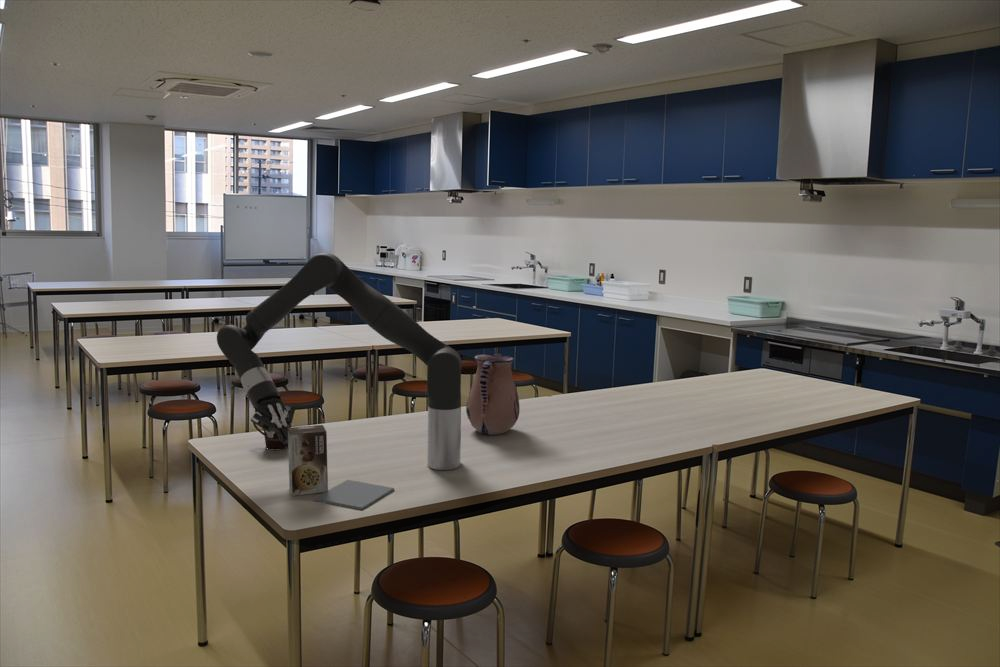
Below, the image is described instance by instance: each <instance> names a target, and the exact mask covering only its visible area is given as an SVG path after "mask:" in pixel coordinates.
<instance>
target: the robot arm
mask: <svg viewBox="0 0 1000 667" xmlns="http://www.w3.org/2000/svg"><path fill="white" fill-rule="evenodd" d="M324 288H327V289H329V290H330V291H332V292H333V293H335V295H337V296H339V297H340V298H342V300H344V301H345V302H346V303H347V304H348V305H349V306H350V307H351V308H352V310H353V311H354V312H355V313H356V314H357V316H358V317H359V318H360V319H361V320H362V321H363V322H364V323H365V324H366V325H367V326H368V327H369V328H371V329H372V330H373V331H374V332H376V333H377V334H379V335H380V337H383V338H384V339H385V340H388V341H390V342H391V343H393V344H394V345H397V346H399V347H401V348H403V349H405V350H407V351H409V352H410V353H412V354H413V355H414V356H415V357H417V358H418V359H419V360H420V361H421V362H423V363H424V365H426V366H427V369H426V371H427V372H426V384H427V385H426V390H427V392H426V393H427V394H426V396H427V467H429V468H430V469H433V470H438V471H450V470H454V469H458V468H459V467H460V466H461V449H462V448H461V447H462V445H461V444H462V442H461V438H462V437H461V436H462V434H461V432H462V431H461V430H462V429H461V426H462V425H461V424H462V419H461V418H462V413H461V412H462V390H461V389H462V383H461V382H462V367H463V360H462V357H461V356H460V354H459V353H458V352H457V350H455V349H454V348H453V347H450V346H449V345H448V344H446V343H444V342H442V341H441V340H439V339H438V338H436V337H435V336H434V335H432V334H430V333H429V332H428V331H427V330H425V329H424V328H423V327H422V326H421V325H420V323H418V322H417V321H416V320H414V319H413V317H411V315H409V314H408V313H407V312H405V311H404V310H403V309H402V308H401V307H399V306H398V305H397V304H396V303H394V302H393V301H392V300H390V299H389V298H388V297H387V296H385V295H384V294H382V293H381V292H380V291H378V290H377V289H375V288H374V287H372V286H370V285H369V284H368V283H366V282H365V281H364V280H362V279H361V278H360V277H359V276H357V274H355V273H354V272H353V271H352V270H351V269H350V268H349V267H348V266H347V264H345V262H343V261H342V260H341V259H340V258H339V257H338V256H337V255H335V254H333V253H330V252H321V253H317V254H313V255H312V256H311V257H310V258H309V259H308V261H307V262H306V263H305V264H304V265H303V266H302V267H301V269H300V270H299V271H298V272H297V273H296V274H295V275H294V276H293V277H292V278H291V279H290V280H289V281H288V282H287V283H285V284H284V285H283V286H282V287H281V288H279V289H278V290H277V291H275V292H274V293H273V294H271V295H270V296H269V297H267V298H266V299H264V300H263V301H262V302H260V303H259V304H257V305H256V306H255V307H254V308H253V309H252V310H250V311H249V312H248V313H247V314H246V315H245V322H246V324H245V326H244V327H238V326H236V325H233V324H226V325H223V326H222V327H220V329H218V331H217V334H216V342H217V345H218V348H219V350H220V351H221V352H222V354H223V355H224V356H225V358H226V359H227V360H228V362H229V363H230V364H231V365H232V366H233V367H234V370H235V373H236V374H237V376H238V378H239V381H240V382H241V386H242V387H243V389H244V391H245V392H244V393H245V394H246V396H247V398H248V399H249V402H250V404H251V405H252V407H253V409H254V412H255V413H254V414H253V415H252V417H251V419H250V421H251V423H252V424H253V423H255V424H256V426H257V427H260V428H261V429H262V430H263V429H265V430H266V431H268V432H271V431H274V432H275V433H276V434H277V436H278V437H279V439H280V441H281V442H283V444H285V443H288V427H289V425H290V426H291V424H292V423H293V420H294V416H295V411H296V406H294V405H292V406H288V405H286V403H285V401H283V399H282V398H281V395H280V392H279V390H278V388H277V387H276V385H275V384H276V383H275V382H274V381H273V379H272V376H271V375H270V373H269V371H268V370H267V369H266V367H265V365H264V364H263V361H262V360H261V358H260V356H259V355H258V354H257V353H256V352H254V351H253V349H254V348H255V346H257V344H258V343H259V342H260V340H262V338H264V337H263V336H265V334H266V333H267V332H268V331H270V330H272V328H273V327H275V326H276V325H277V324H279V323H280V322H281V321H282V320H283V319H285V317H287V316H288V315H289V314H290V313H291V312H292V311H293V310H294V309H295V308H296V307H297V306H298V305H299V304H300V303H302V302H303V301H304V300H306V299H307V298H309V297H310V296H311V295H313V294H314V293H316V292H318V291H320V290H322V289H324ZM284 411H285V415H287V416H286V420H285V415H284ZM267 425H268V426H267Z"/></svg>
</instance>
